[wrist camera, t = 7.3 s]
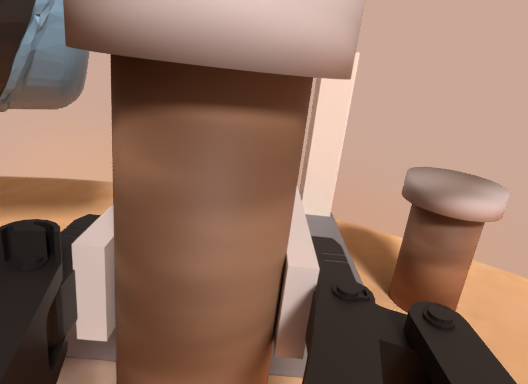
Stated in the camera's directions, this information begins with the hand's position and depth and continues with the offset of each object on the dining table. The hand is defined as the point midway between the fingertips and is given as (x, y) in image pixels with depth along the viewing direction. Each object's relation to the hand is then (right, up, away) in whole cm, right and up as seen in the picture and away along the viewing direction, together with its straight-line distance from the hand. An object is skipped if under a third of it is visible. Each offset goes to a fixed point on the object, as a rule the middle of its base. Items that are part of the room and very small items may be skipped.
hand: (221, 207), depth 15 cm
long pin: (-1, -10, -2) cm, 10 cm away
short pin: (+13, -7, +12) cm, 19 cm away
